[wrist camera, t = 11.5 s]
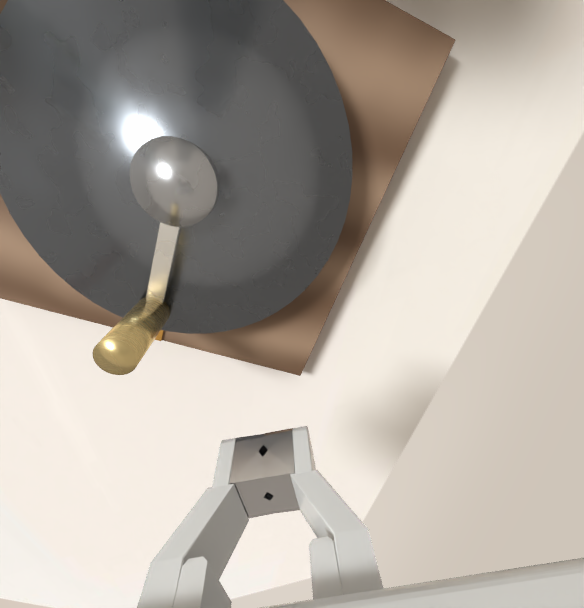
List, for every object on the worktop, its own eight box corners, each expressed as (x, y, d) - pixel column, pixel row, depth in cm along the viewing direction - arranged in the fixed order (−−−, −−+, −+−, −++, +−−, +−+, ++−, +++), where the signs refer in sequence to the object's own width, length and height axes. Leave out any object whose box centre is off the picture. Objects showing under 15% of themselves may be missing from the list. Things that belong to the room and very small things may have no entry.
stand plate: (-25, -208, 14) (-61, -252, 13) (443, 48, 20) (457, 38, 18) (-6, 285, 25) (-24, 293, 23) (298, 366, 30) (300, 377, 28)
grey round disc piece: (6, -140, 14) (-270, -454, 7) (403, 69, 19) (486, 8, 11) (10, 273, 23) (-114, 325, 15) (283, 350, 27) (287, 418, 20)
